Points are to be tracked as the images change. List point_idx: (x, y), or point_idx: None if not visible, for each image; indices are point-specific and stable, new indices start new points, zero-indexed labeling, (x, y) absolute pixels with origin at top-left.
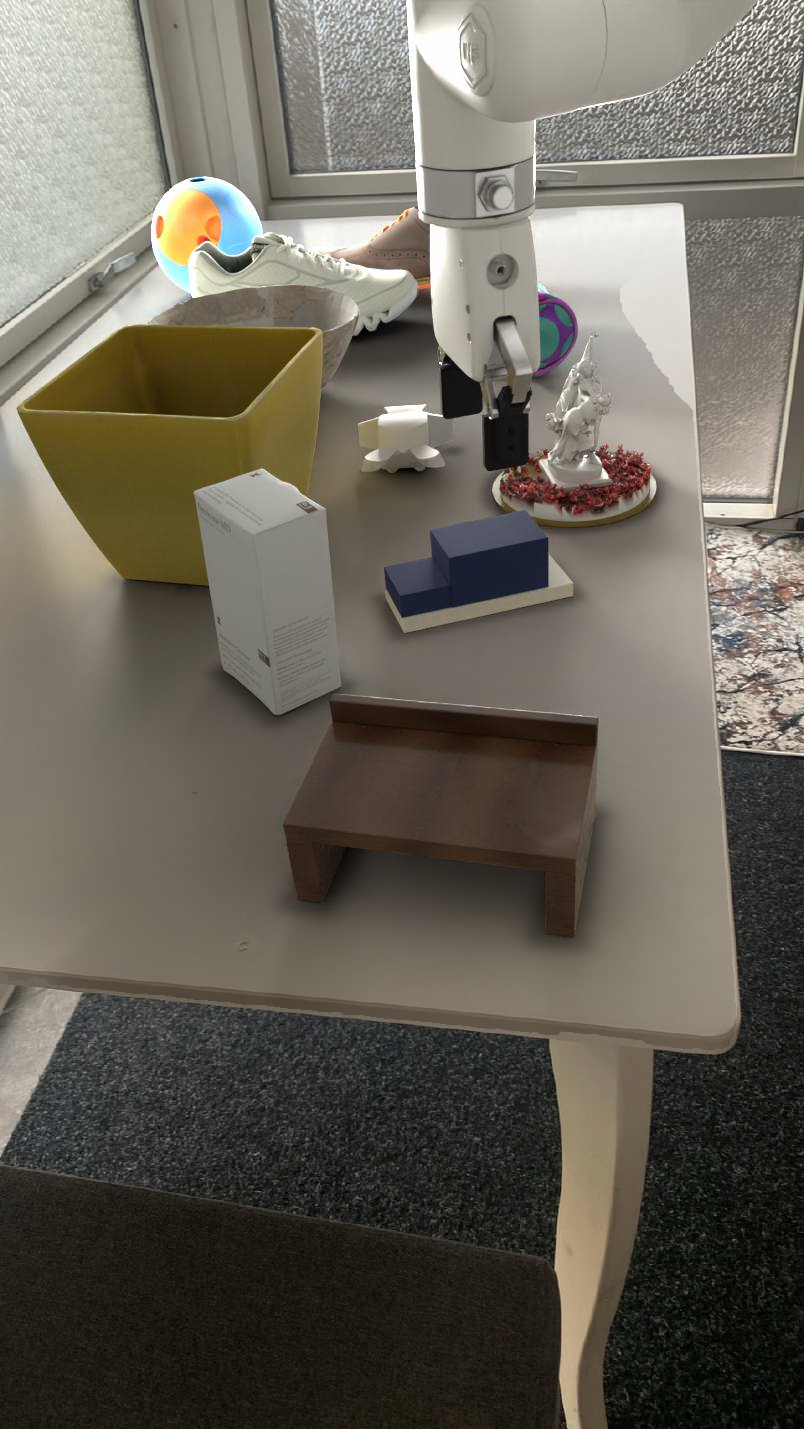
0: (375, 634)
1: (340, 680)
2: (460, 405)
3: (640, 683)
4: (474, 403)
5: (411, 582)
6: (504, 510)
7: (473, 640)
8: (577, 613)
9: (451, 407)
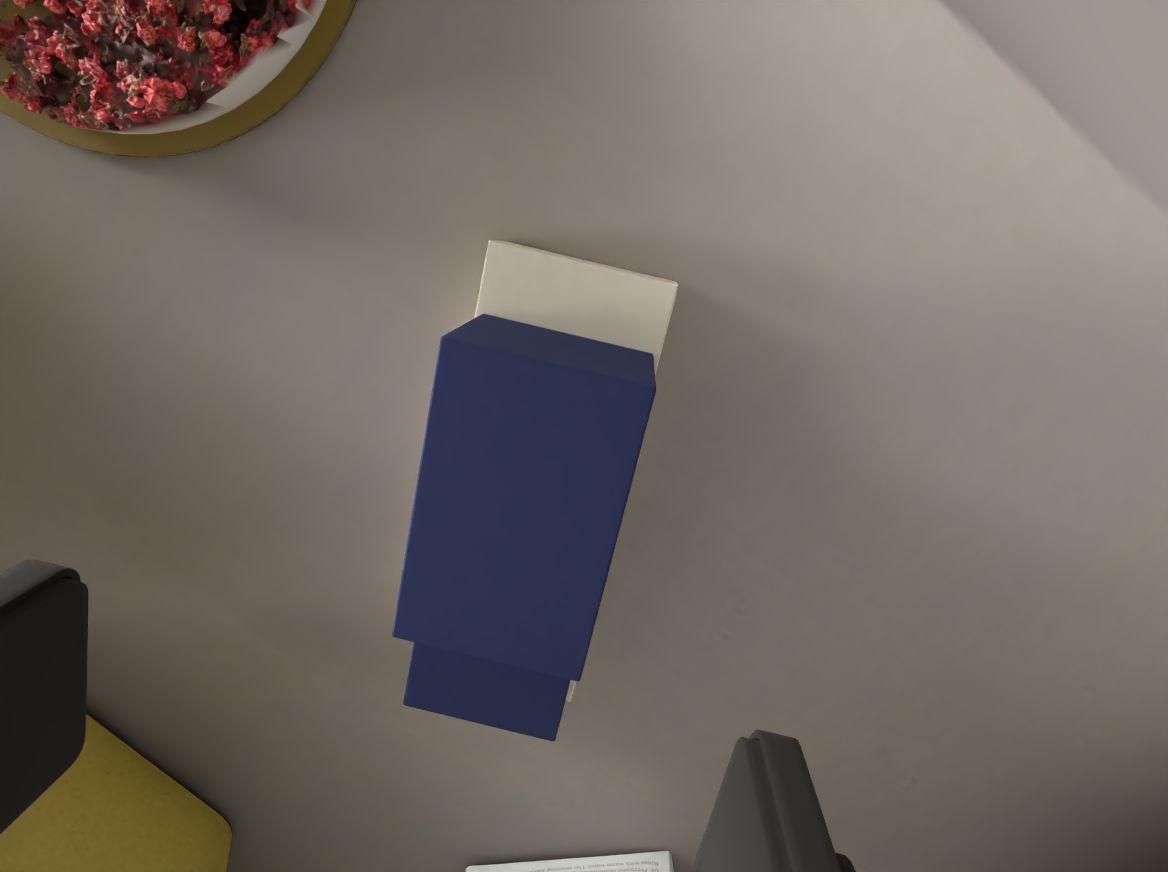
0: None
1: (671, 864)
2: (35, 725)
3: (1097, 387)
4: (38, 650)
5: (512, 692)
6: (144, 156)
7: (690, 583)
8: (750, 322)
9: (37, 768)
